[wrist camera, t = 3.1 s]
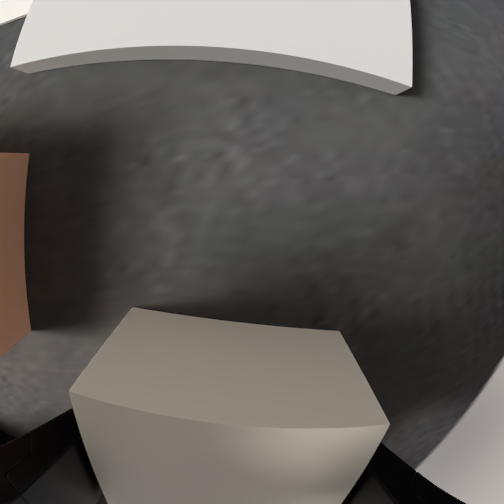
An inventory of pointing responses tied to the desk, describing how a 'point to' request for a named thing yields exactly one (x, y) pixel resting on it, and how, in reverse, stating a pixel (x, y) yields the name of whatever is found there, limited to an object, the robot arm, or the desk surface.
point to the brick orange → (12, 250)
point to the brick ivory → (225, 413)
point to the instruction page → (13, 10)
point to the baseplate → (227, 35)
